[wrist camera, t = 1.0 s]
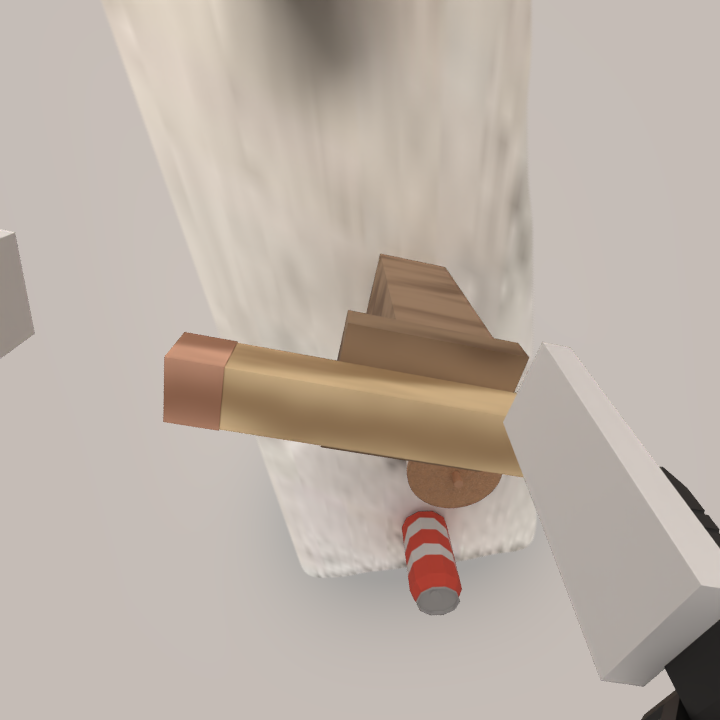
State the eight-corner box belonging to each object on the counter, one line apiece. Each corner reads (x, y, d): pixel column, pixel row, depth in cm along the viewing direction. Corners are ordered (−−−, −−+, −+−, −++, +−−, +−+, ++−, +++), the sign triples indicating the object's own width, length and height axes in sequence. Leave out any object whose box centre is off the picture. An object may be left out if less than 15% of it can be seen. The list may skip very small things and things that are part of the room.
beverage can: (438, 502, 62) (456, 579, 52) (449, 532, 65) (468, 612, 55) (397, 513, 63) (406, 591, 53) (409, 542, 66) (420, 622, 55)
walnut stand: (349, 237, 45) (347, 322, 25) (452, 259, 47) (529, 357, 27) (332, 317, 49) (320, 447, 29) (428, 336, 51) (479, 472, 31)
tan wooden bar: (184, 332, 26) (164, 356, 23) (573, 402, 28) (597, 431, 25) (182, 392, 27) (163, 422, 25) (547, 452, 30) (567, 485, 27)
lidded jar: (479, 464, 59) (500, 519, 51) (398, 465, 59) (406, 520, 51) (490, 395, 55) (515, 444, 46) (402, 396, 54) (412, 444, 46)
